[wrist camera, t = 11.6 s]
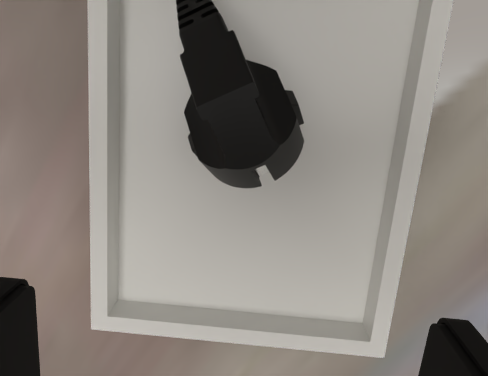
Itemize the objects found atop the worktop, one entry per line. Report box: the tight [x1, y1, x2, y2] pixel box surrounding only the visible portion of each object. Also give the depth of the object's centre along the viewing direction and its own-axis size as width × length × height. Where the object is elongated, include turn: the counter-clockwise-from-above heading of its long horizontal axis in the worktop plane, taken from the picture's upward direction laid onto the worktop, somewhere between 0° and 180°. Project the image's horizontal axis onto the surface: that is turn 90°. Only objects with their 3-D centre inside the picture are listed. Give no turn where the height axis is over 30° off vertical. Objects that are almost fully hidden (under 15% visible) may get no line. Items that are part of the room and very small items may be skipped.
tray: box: [88, 0, 454, 358], centre depth 23 cm, size 26×18×2 cm
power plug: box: [176, 0, 304, 188], centre depth 22 cm, size 6×8×12 cm
